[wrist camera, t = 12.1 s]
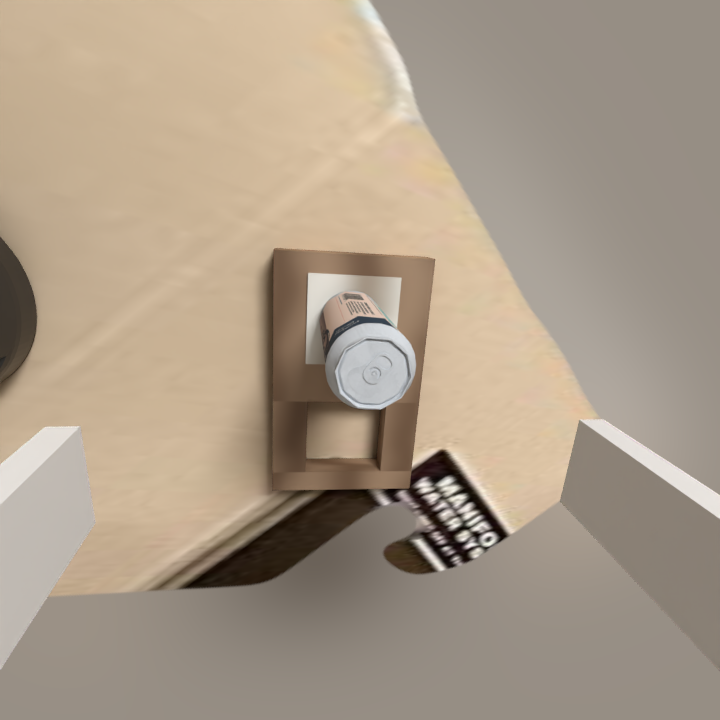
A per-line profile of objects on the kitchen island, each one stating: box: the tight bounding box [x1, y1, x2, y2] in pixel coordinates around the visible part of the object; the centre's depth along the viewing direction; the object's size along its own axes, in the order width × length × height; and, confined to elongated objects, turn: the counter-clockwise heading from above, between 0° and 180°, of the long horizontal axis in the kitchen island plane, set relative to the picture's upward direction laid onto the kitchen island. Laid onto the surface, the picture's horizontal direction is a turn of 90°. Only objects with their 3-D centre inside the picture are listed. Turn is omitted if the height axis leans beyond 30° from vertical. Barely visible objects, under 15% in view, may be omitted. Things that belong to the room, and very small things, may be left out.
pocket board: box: [272, 248, 435, 491], centre depth 35 cm, size 12×20×2 cm, turn 177°
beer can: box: [319, 291, 416, 410], centre depth 27 cm, size 5×5×12 cm
